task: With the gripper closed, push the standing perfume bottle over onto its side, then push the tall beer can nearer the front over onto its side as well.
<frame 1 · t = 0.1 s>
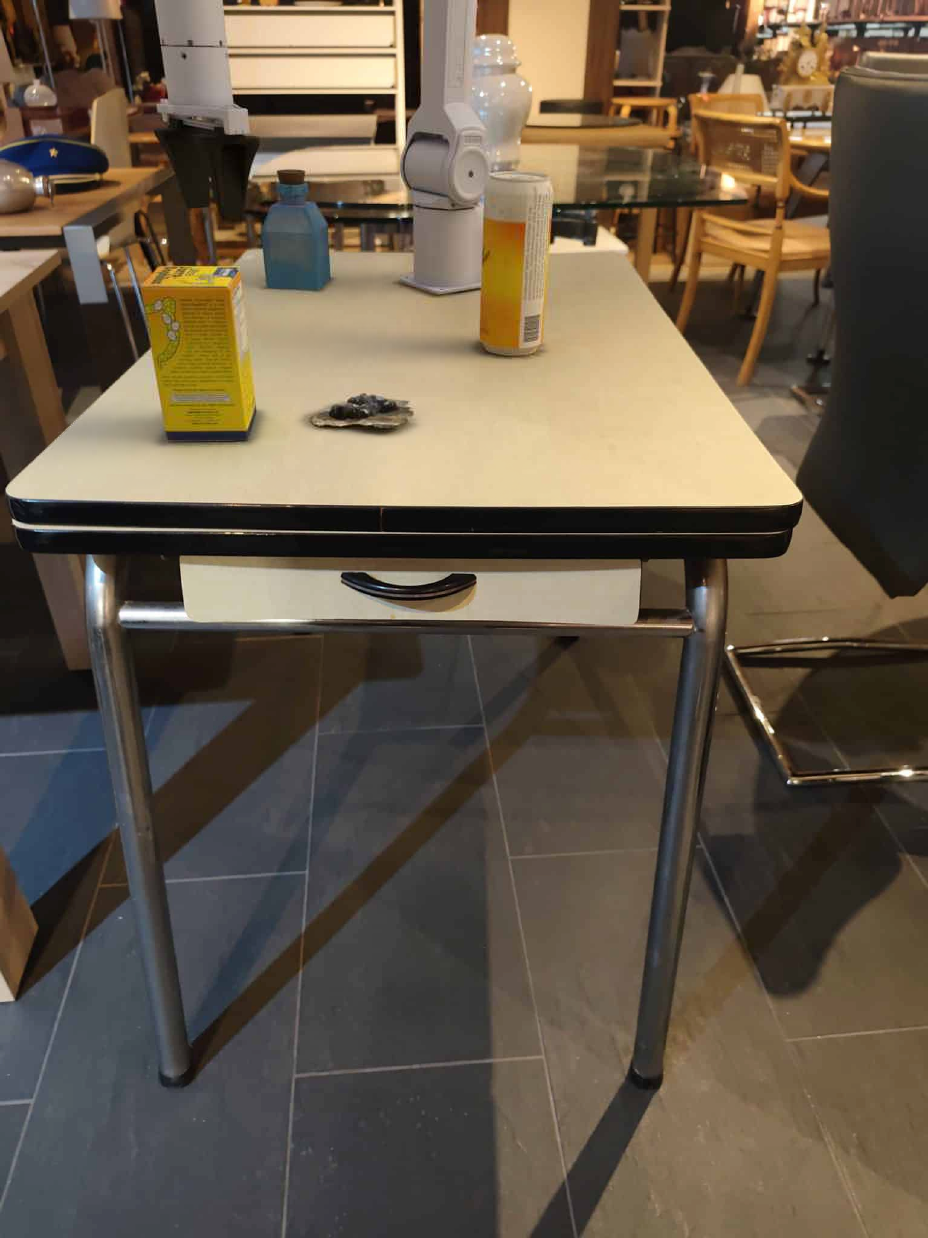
hand: (214, 212, 86), 10 cm above the table, tool pointing down, fingers open, 7 cm apart
beer can: (510, 349, 85), on the table
grey flat lumpy piece: (362, 422, 69), on the table
supplement box: (213, 429, 67), on the table
perfume bottle: (299, 284, 105), on the table
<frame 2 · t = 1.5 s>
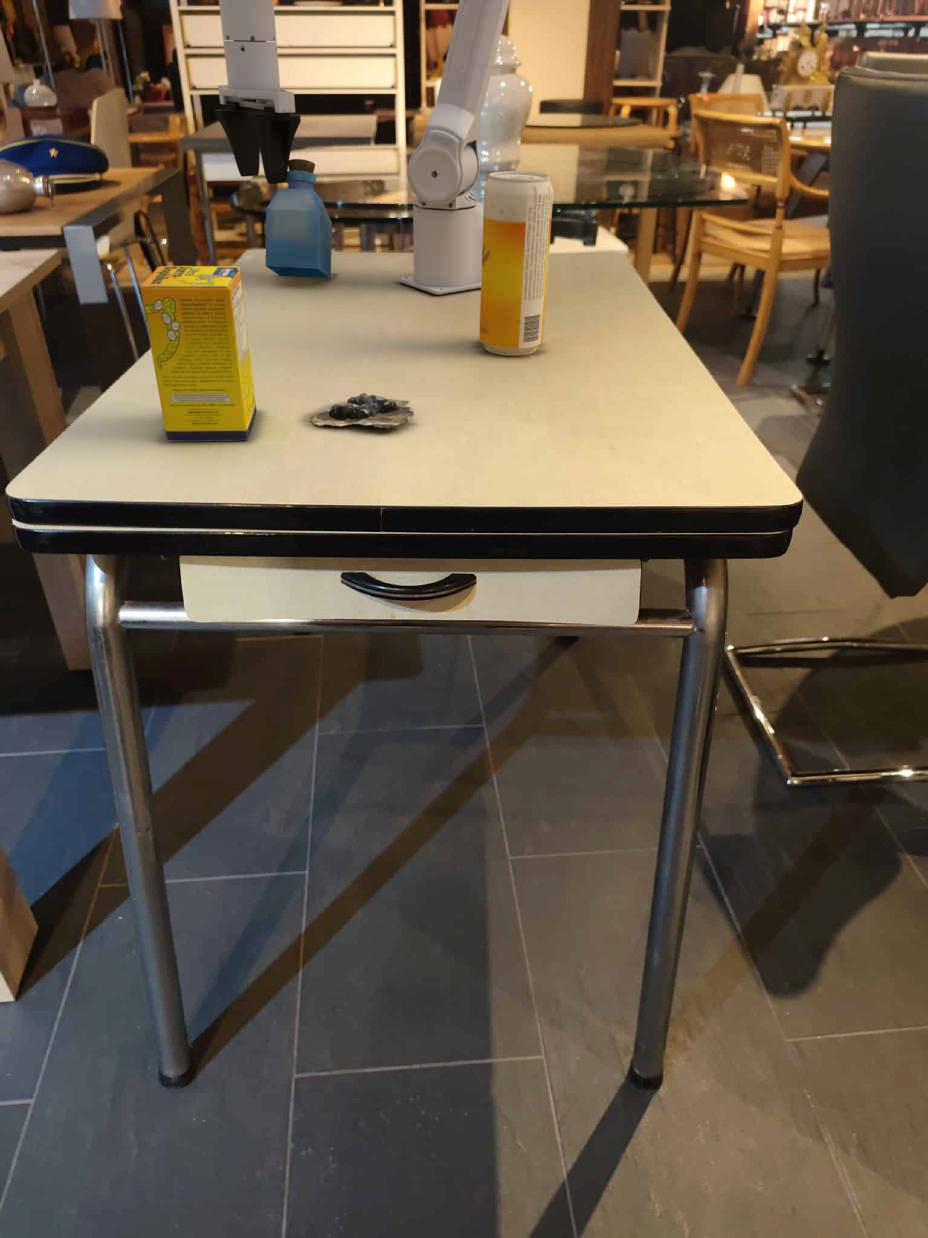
hand: (262, 179, 104), 10 cm above the table, tool pointing down, fingers open, 6 cm apart
perfume bottle: (298, 274, 105), point 1 cm above the table
everything else where it was.
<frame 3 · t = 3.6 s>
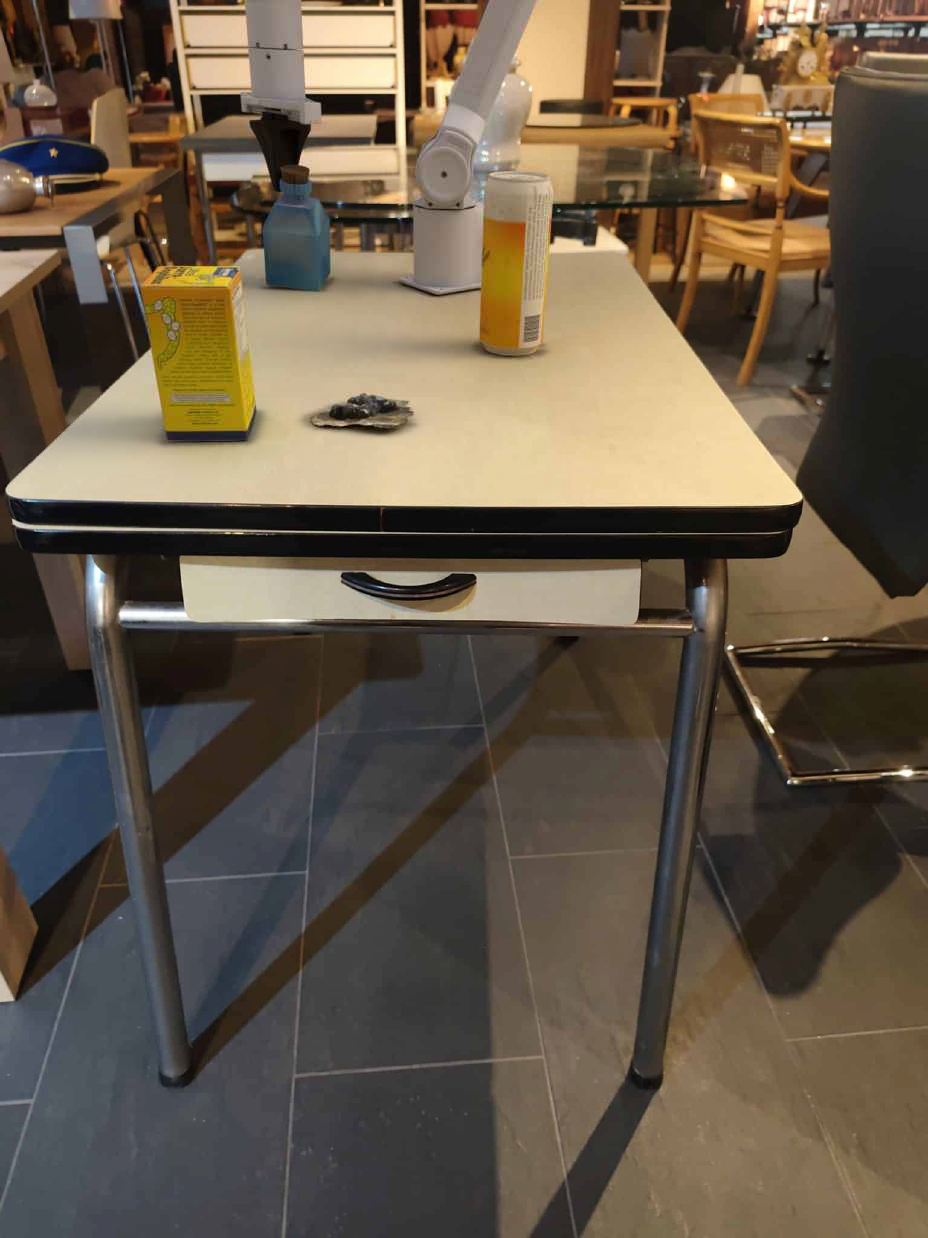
hand: (284, 190, 100), 10 cm above the table, tool pointing down, fingers closed, pressing on perfume bottle
perfume bottle: (299, 279, 105), on the table, touching gripper
everything else where it was.
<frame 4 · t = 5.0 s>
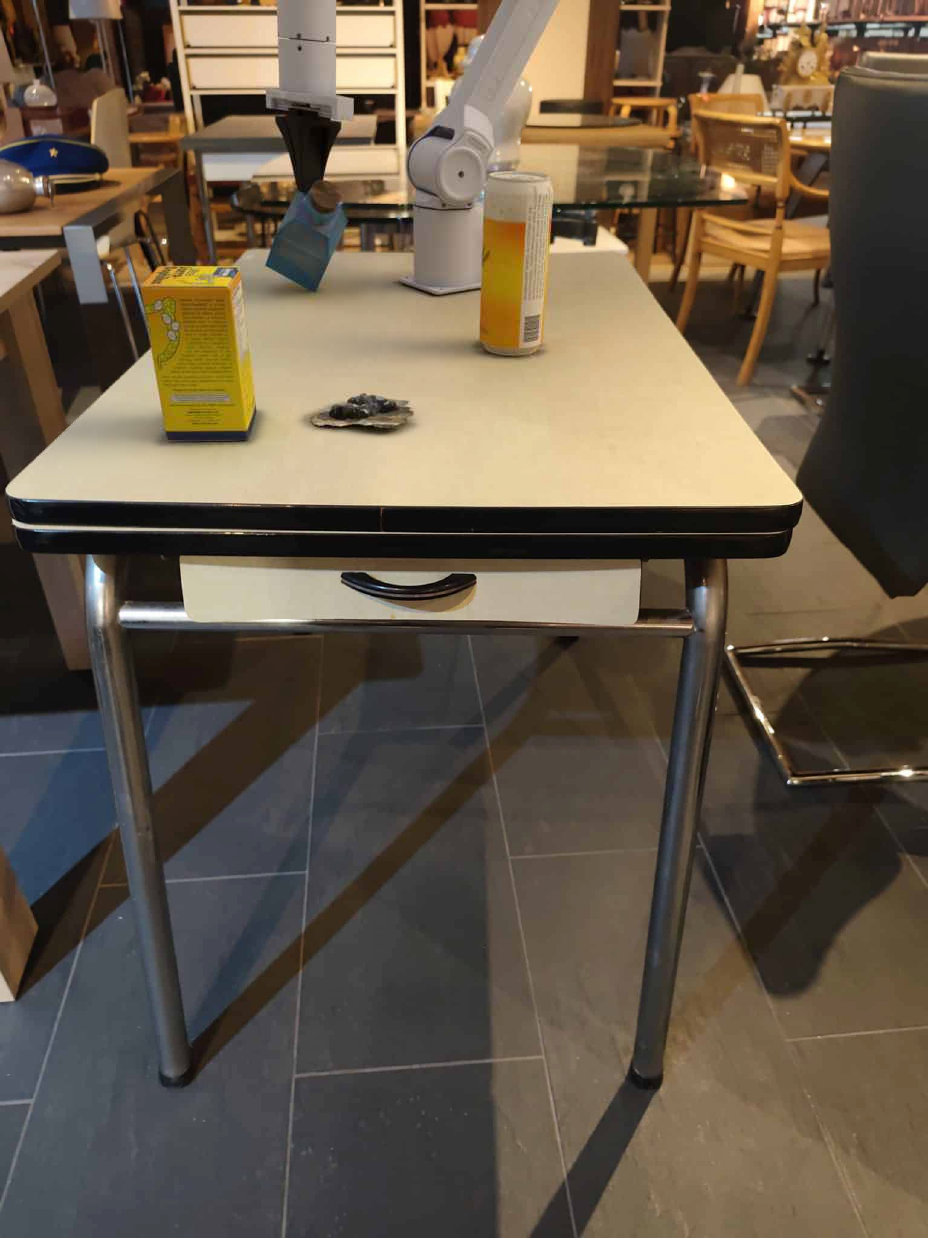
hand: (308, 191, 95), 11 cm above the table, tool pointing down, fingers closed on perfume bottle
perfume bottle: (299, 259, 103), point 3 cm above the table, touching gripper
everything else where it was.
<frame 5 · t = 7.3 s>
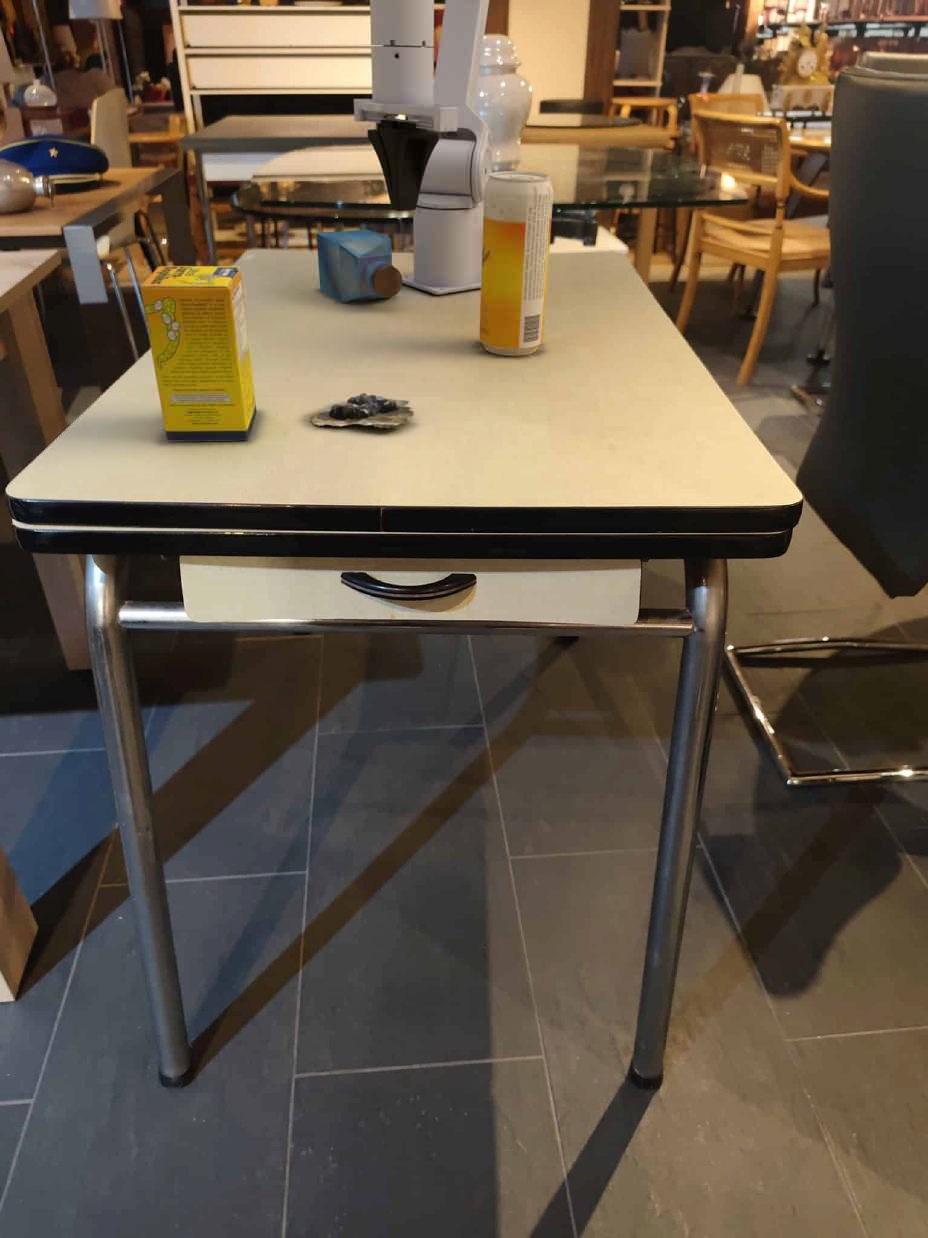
hand: (403, 209, 88), 10 cm above the table, tool pointing down, fingers closed
perfume bottle: (342, 259, 102), point 3 cm above the table
everything else where it was.
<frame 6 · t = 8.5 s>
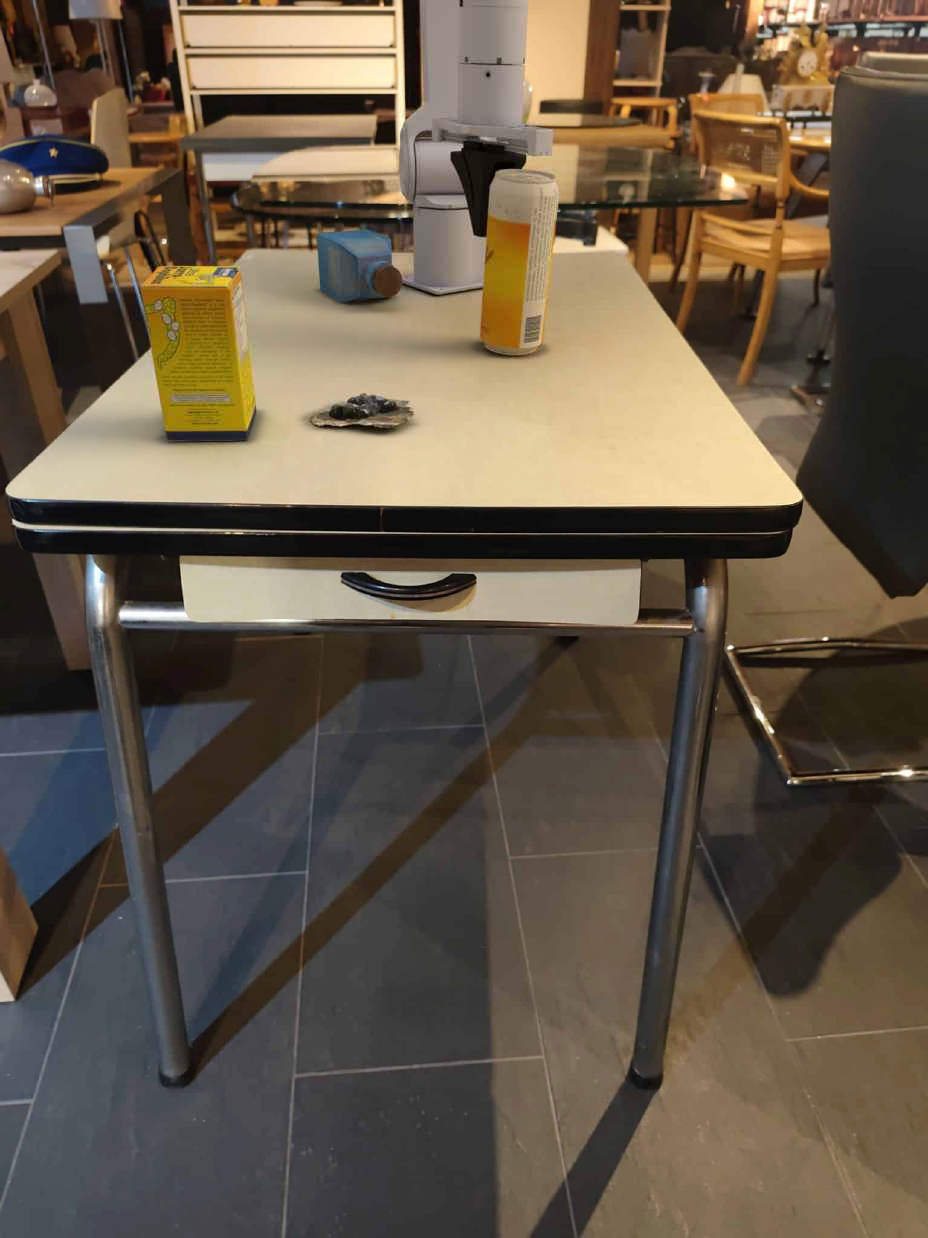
hand: (485, 235, 83), 9 cm above the table, tool pointing down, fingers closed
beer can: (510, 348, 85), on the table, touching gripper
everything else where it was.
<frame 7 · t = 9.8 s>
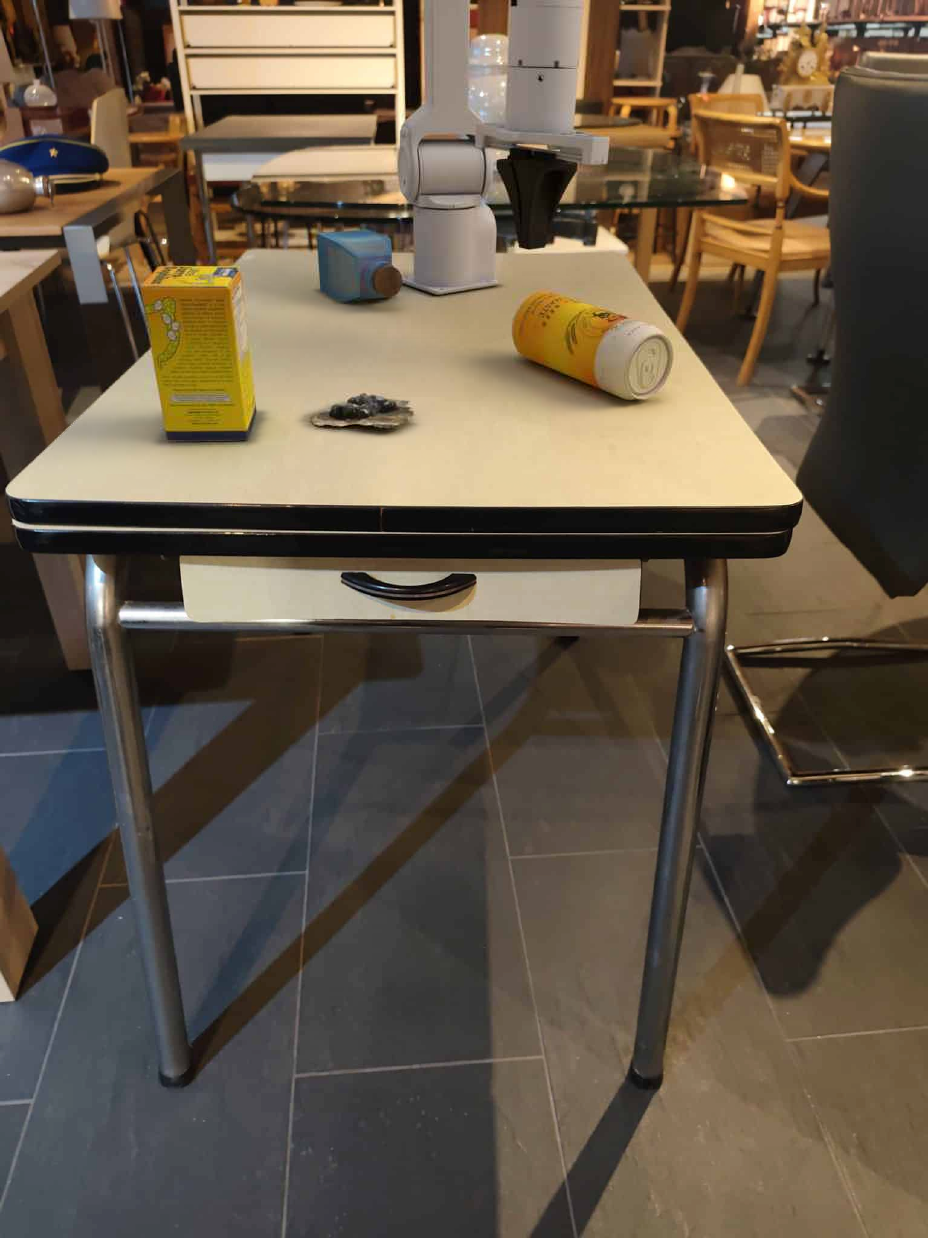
hand: (531, 247, 79), 9 cm above the table, tool pointing down, fingers closed
beer can: (531, 322, 82), point 3 cm above the table
everything else where it was.
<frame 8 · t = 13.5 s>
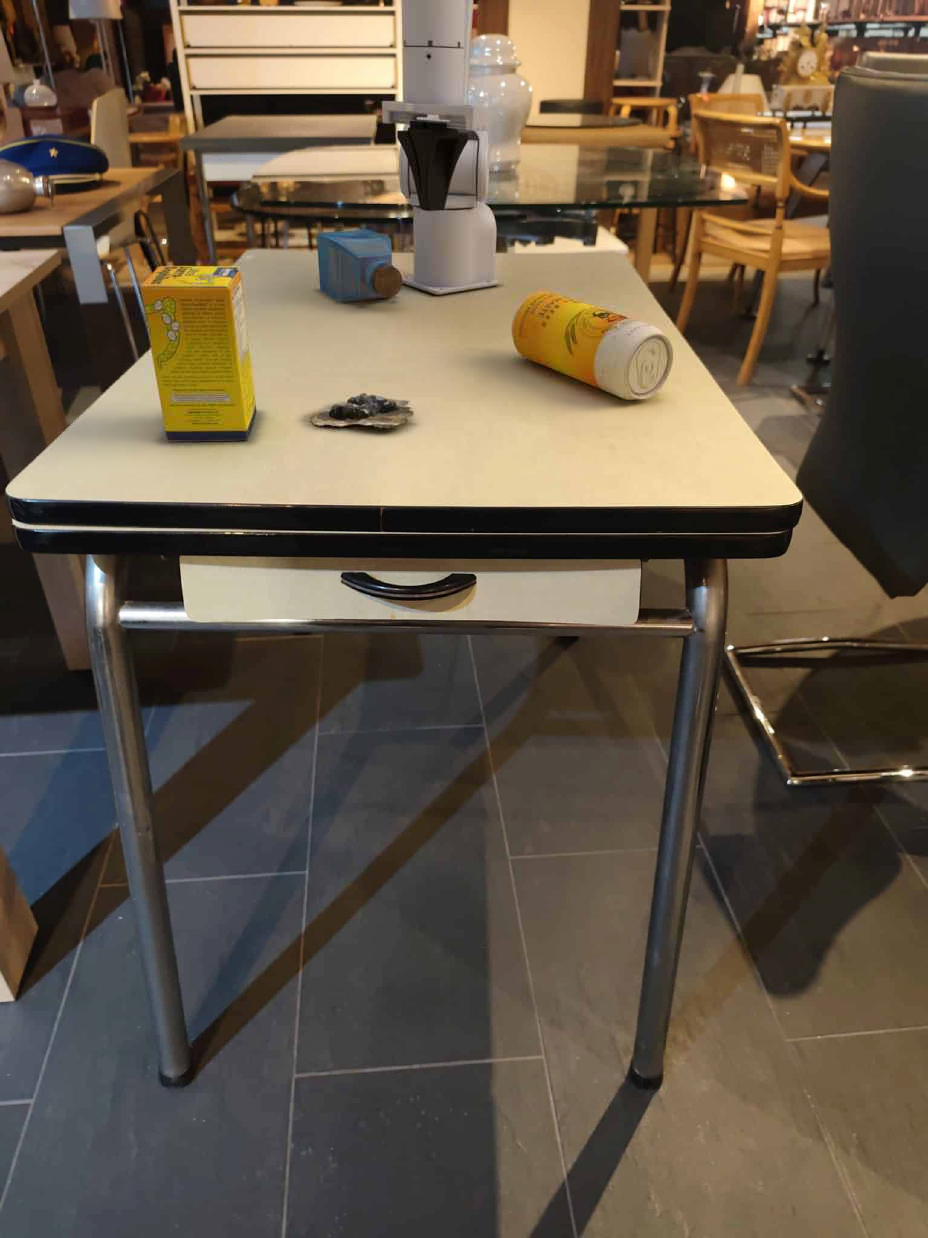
hand: (432, 209, 88), 10 cm above the table, tool pointing down, fingers closed
nothing on the table moved.
at the end: perfume bottle tilted 90°; beer can tilted 90°; beer can inside the target area (2.1 cm from its centre), point 3.0 cm above the table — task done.
